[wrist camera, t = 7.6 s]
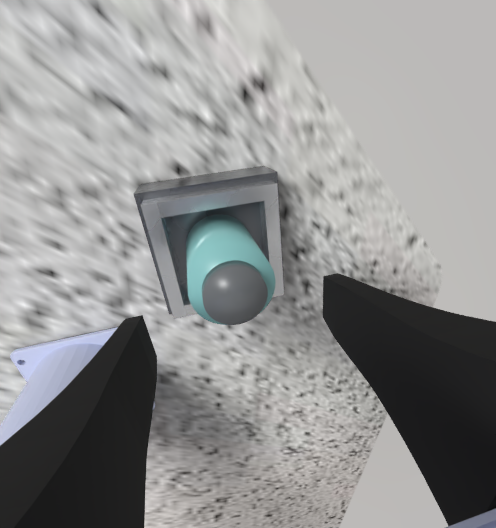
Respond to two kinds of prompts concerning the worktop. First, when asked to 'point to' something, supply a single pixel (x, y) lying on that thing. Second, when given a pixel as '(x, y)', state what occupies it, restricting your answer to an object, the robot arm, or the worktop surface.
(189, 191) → the grey flat square block
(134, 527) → the robot arm
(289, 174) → the worktop surface
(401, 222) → the worktop surface
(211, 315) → the teal capped cylinder
